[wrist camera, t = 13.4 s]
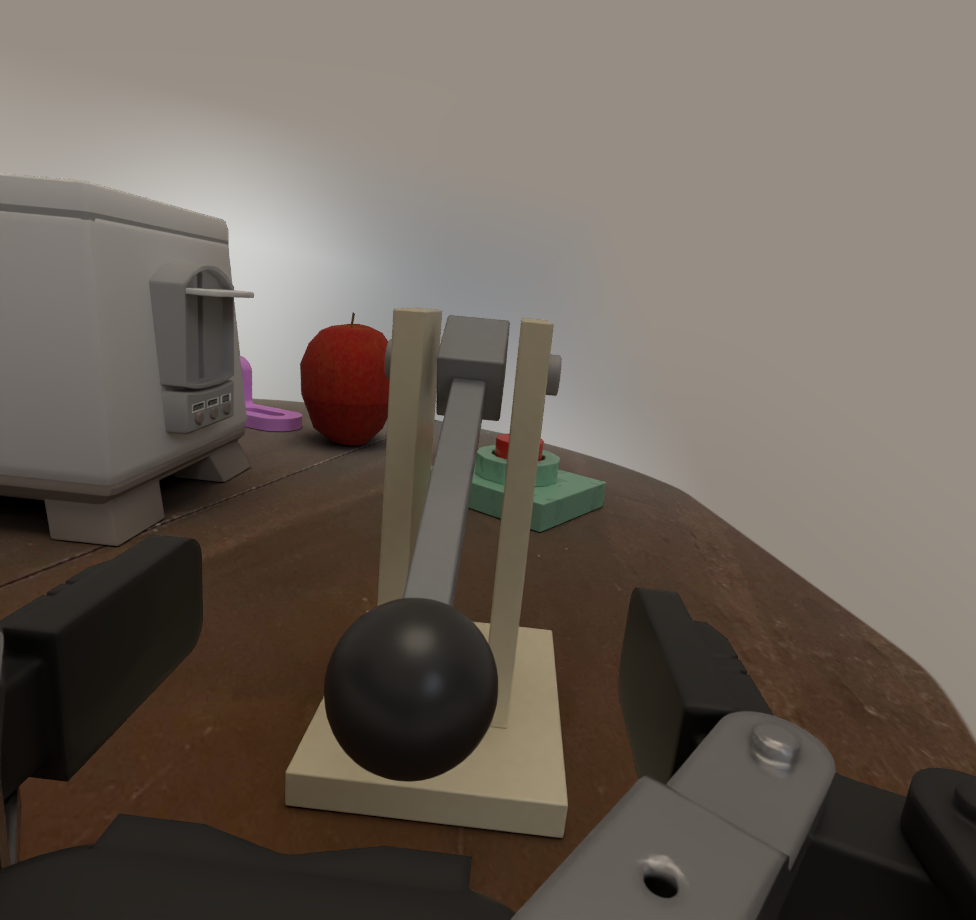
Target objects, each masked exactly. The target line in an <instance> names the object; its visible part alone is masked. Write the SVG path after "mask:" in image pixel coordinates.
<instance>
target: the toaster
mask: <svg viewBox="0 0 976 920" xmlns="http://www.w3.org/2000/svg"><path fill="white" fill-rule="evenodd" d="M234 297H245V298H253V297H254V293H253V292H245V291H234V286H233V285H232V278H231V268H230V259H229V248H228V228H227V225H226V222H225V221H224V220H222V219H219V218H215V217H212V216H208V215H204V214H201V213H197V212H194V211H190V210H187V209H183V208H179V207H176V206H172V205H168V204H165V203H161V202H158V201H155V200H151V199H147V198H144V197H140V196H137V195H133V194H130V193H126V192H122V191H119V190H115V189H111V188H108V187H105V186H101V185H98V184H94V183H90V182H86V181H81V180H71V179H61V178H49V177H38V176H28V175H27V176H26V175H17V174H6V173H0V496H8V497H17V498H26V499H36V500H45V506H46V512H47V518H48V524H49V530H50V536H51V538H52V539H57V540H66V541H75V542H84V543H92V544H101V545H110V546H119V545H120V544H122V543H124V542H125V541H127V540H129V539H130V538H132V537H134V536H135V535H137V534H139V533H140V532H142V531H144V530H145V529H147V528H149V527H150V526H152V525H154V524H155V523H157V522H159V521H160V520H162V519H164V517H165V516H164V510H163V504H162V498H161V492H160V485H159V480H161V479H163V478H165V477H167V476H169V475H171V474H173V475H174V476H175V477H179V478H188V479H198V480H207V481H217V482H226V481H227V480H229V479H231V478H232V477H234V476H236V475H238V474H239V473H241V472H243V471H244V470H246V469H248V468H249V467H251V465H250V463H249V461H248V460H247V458H246V456H245V454H244V452H243V450H242V448H241V446H240V444H239V443H238V439H239V438H241V437H242V436H243V435H244V432H245V429H244V428H243V426H244V425H245V423H246V420H247V414H246V405H245V396H244V386H243V377H242V368H241V359H240V351H239V341H238V332H237V323H236V315H235V305H234Z"/></svg>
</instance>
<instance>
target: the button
mask: <svg viewBox="0 0 976 920" xmlns="http://www.w3.org/2000/svg"><path fill="white" fill-rule="evenodd" d="M509 435H510V434H501V435H498V436H497V437H496V447H495V456H496V457H499V458H503V459H507V455H508V445H509ZM543 446H544V441H543V440H542V439H540V447H539V456H538V461H542V454H543Z"/></svg>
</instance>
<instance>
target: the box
mask: <svg viewBox="0 0 976 920" xmlns="http://www.w3.org/2000/svg"><path fill="white" fill-rule="evenodd" d="M495 447H496V445H491V446H486V447H481V448H479V450H478V451H477V455H476V461H475V468H474V474H473V481H472V487H471V493H470V500H469V506H468V508H471V509H474V510H477V511H479V512H482V513H485V514H488V515H491V516H494V517H497V518H500V519H501V513H502V504H503V494H504V484H505V474H506V465H507V459H503V458H499V457H496V456H495ZM558 467H559V457H558V456H556V455H554V454H552V453H550V452H548V451H544V450H543V454H542V461H538V464H537V473H536V482H535V490H534V499H533V508H532V517H531V525H530V529H532V530H535V531H538V532H542V531H544V530H546V529H549V528H551V527H554V526H556V525H559V524H561V523H564V522H566V521H568V520H571V519H573V518H576V517H578V516H581V515H583V514H585V513H588V512H590V511H593V510H595V509H598V508H600V507H602V506H603V502H604V495H605V488H606V482H603V481H599V480H595V479H592V478H588V477H584V476H581V475H577V474H573V473H569V472H566V471H562V470H558ZM432 468H433V466H432V467H431V472H432ZM431 472H430V476H431Z"/></svg>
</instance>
